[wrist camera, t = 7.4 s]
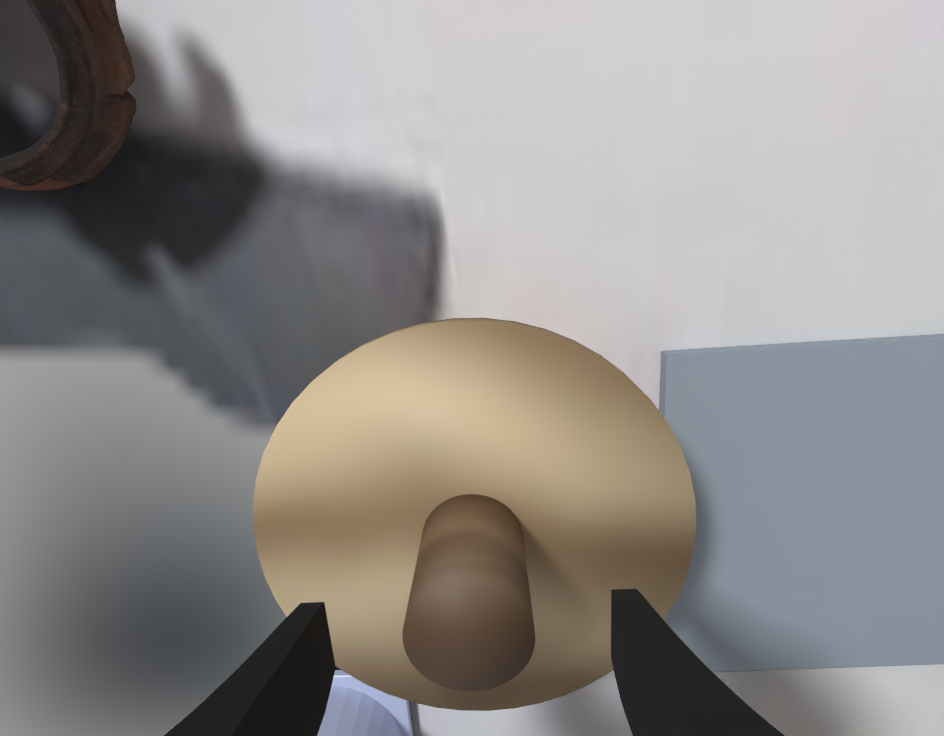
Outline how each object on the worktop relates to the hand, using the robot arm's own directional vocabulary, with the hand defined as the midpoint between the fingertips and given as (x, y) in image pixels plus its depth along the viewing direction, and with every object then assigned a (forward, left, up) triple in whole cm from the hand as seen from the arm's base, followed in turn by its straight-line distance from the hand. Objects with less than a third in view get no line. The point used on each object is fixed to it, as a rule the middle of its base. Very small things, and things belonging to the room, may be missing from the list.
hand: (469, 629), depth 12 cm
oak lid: (0, 0, -4) cm, 4 cm away
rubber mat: (-3, -15, -9) cm, 18 cm away
